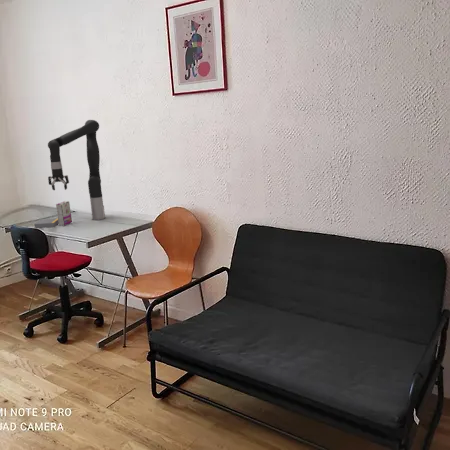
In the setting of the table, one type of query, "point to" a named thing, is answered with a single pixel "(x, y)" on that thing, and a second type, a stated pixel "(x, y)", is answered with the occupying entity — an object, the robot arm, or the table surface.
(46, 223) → the loading dock
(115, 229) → the table surface
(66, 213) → the candy bar box
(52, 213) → the table surface
